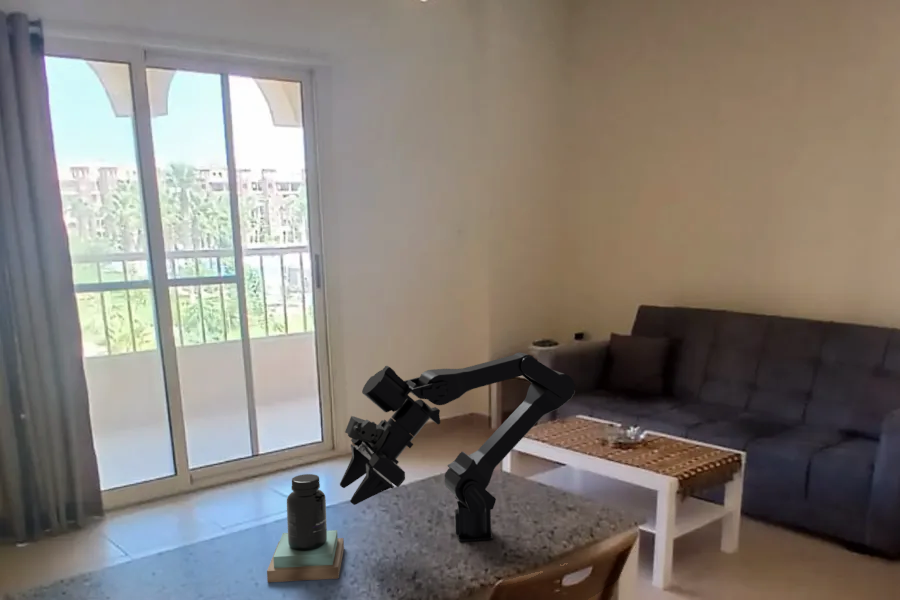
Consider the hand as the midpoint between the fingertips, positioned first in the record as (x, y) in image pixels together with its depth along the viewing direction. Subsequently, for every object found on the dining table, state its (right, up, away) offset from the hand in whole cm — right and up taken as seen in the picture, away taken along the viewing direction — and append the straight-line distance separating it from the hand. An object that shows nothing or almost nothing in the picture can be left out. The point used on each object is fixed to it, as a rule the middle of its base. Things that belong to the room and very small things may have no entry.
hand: (346, 494), depth 130 cm
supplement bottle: (-7, -8, -2) cm, 11 cm away
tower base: (-7, -12, -2) cm, 14 cm away
